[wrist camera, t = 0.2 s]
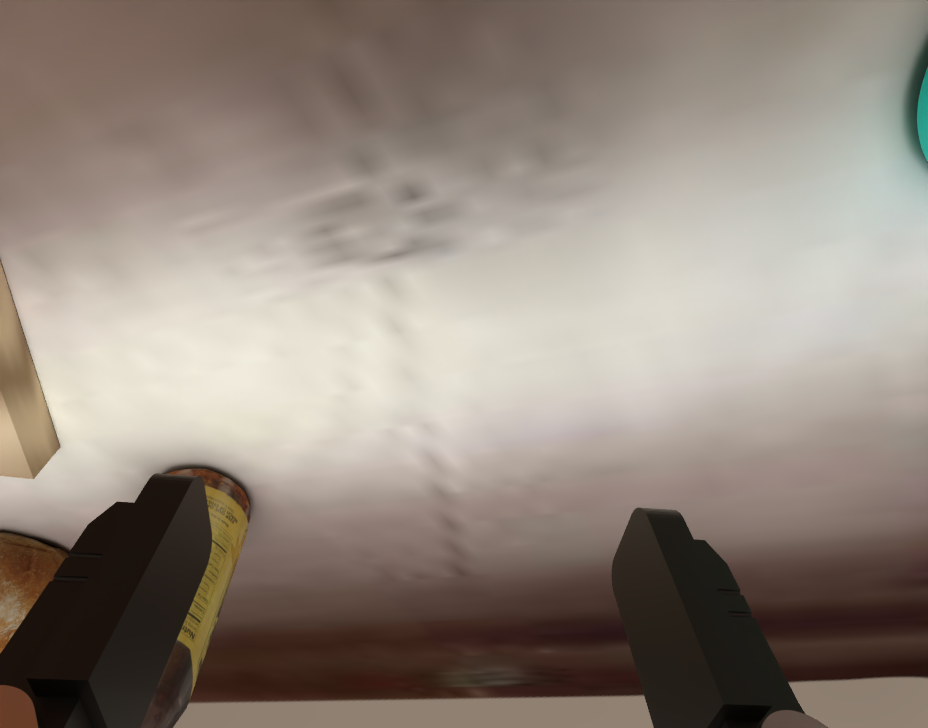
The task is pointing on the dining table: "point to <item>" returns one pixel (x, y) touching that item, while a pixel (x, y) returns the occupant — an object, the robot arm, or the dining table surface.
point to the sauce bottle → (202, 598)
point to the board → (20, 400)
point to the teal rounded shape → (923, 116)
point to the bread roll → (23, 578)
